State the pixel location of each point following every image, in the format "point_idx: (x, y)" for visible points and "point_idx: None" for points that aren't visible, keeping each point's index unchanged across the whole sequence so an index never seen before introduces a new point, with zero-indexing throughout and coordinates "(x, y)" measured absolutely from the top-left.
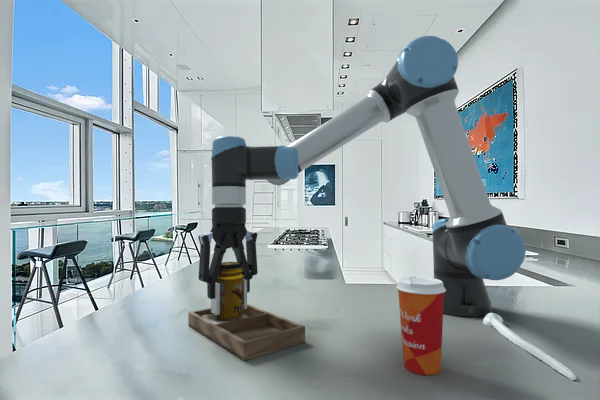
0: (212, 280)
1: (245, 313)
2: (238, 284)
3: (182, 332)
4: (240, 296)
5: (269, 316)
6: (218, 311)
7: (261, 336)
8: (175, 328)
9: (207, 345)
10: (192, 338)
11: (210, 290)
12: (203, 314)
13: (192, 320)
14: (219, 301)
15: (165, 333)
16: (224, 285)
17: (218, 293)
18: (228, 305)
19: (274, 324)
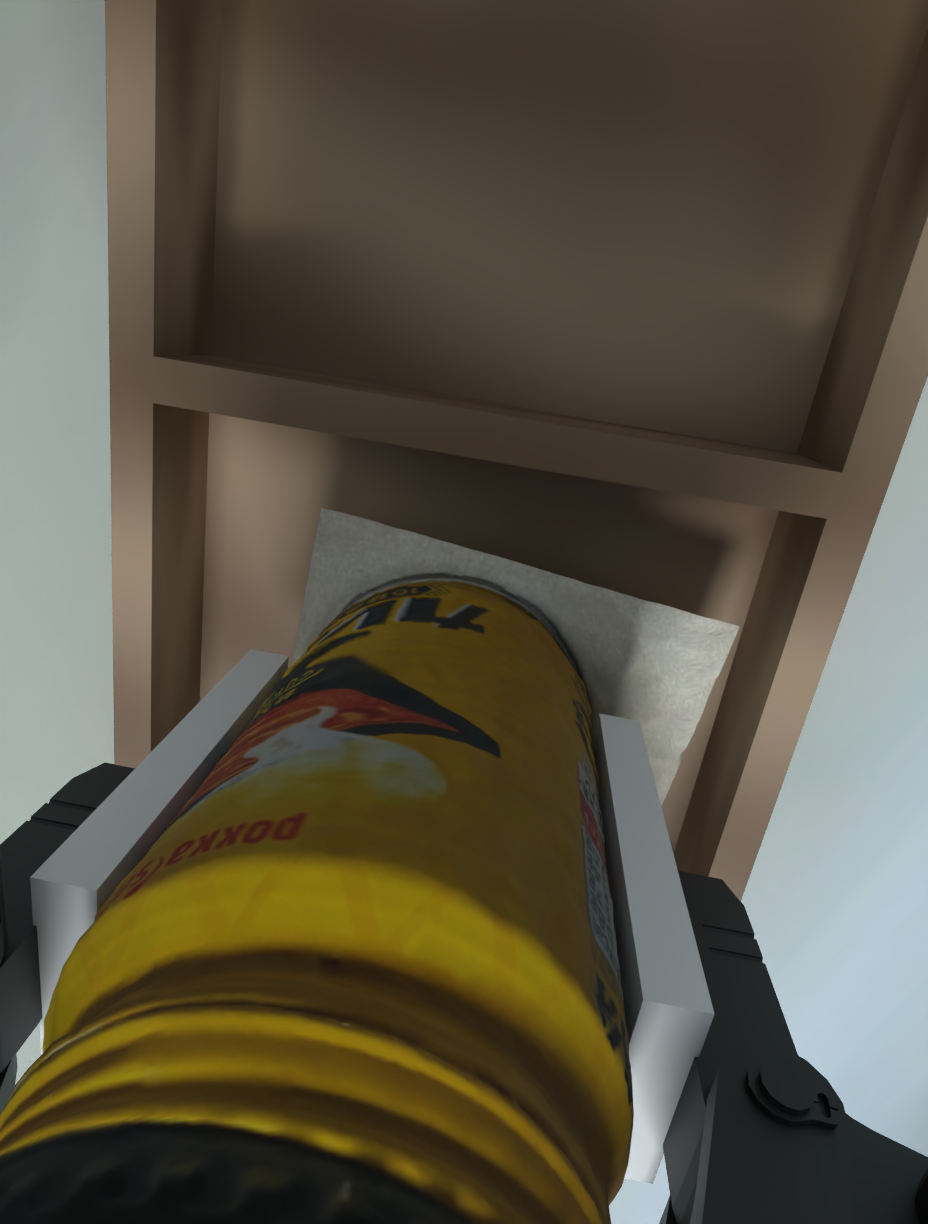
0: (829, 1120)
1: None
2: (334, 778)
3: (810, 847)
4: (344, 674)
5: (166, 312)
6: (618, 734)
7: (489, 98)
8: (776, 958)
9: (924, 420)
10: (867, 671)
11: (763, 984)
12: None
13: None
14: (616, 797)
15: (906, 925)
16: (589, 904)
17: (646, 876)
18: (542, 677)
19: (200, 206)
